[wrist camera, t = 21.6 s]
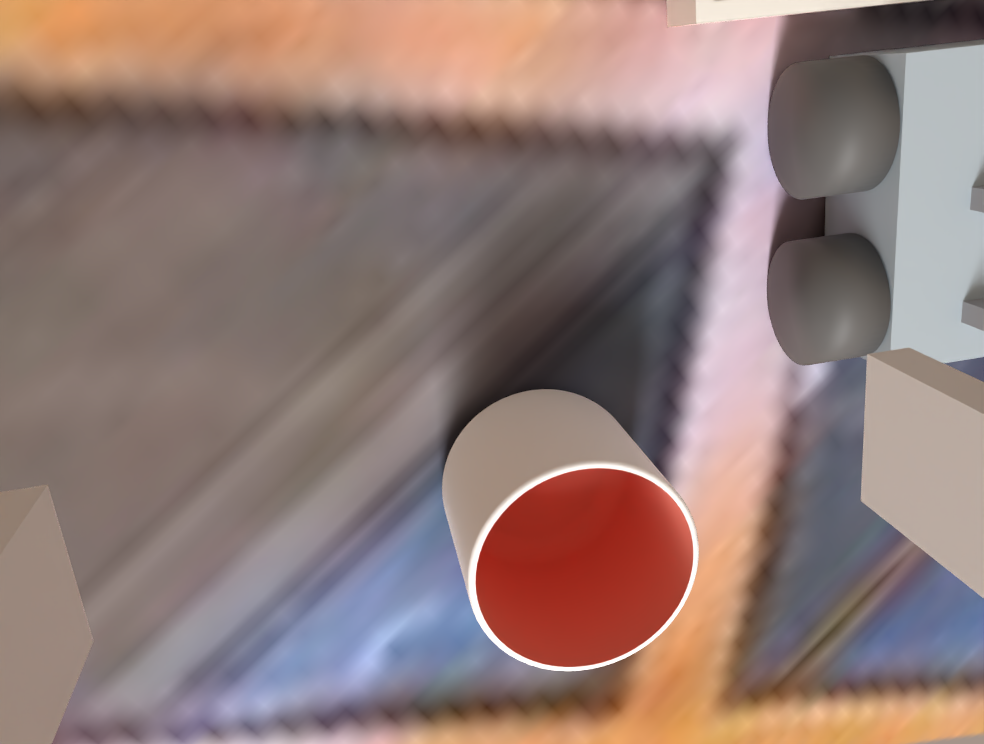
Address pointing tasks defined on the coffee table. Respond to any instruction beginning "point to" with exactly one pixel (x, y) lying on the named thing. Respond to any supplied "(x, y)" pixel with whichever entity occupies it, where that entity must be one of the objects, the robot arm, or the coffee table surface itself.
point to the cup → (565, 532)
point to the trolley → (882, 204)
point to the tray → (756, 9)
